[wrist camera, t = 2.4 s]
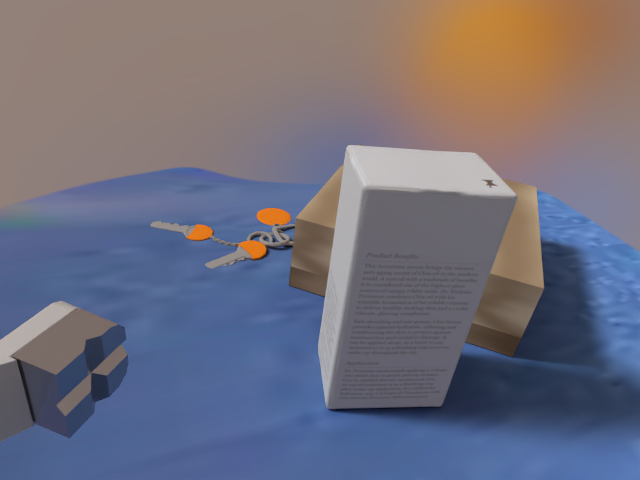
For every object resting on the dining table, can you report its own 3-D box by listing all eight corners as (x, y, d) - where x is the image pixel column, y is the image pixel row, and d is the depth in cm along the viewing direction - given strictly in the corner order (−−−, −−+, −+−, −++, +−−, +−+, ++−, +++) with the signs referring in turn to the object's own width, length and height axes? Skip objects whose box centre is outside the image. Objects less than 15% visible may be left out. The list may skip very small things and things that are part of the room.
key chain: (306, 206, 41) (307, 197, 41) (344, 253, 36) (346, 243, 35) (148, 223, 36) (147, 213, 36) (165, 281, 30) (164, 270, 30)
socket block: (514, 242, 39) (536, 187, 37) (512, 356, 28) (544, 288, 25) (350, 198, 42) (359, 144, 40) (288, 285, 31) (296, 217, 28)
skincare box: (418, 347, 28) (479, 151, 21) (442, 410, 24) (525, 196, 18) (313, 347, 27) (344, 141, 20) (322, 412, 23) (364, 186, 17)
